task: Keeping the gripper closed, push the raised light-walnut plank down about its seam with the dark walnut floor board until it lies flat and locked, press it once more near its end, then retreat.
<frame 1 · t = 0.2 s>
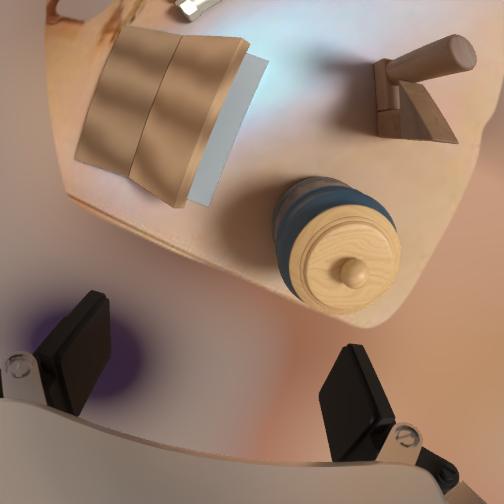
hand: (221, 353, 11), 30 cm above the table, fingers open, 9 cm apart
underlay mat: (163, 107, 35), on the table
floor board: (156, 105, 34), resting on underlay mat
plank: (181, 112, 31), point 4 cm above the table, hinge at 35.0°
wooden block: (386, 100, 34), on the table
canister: (317, 222, 40), on the table
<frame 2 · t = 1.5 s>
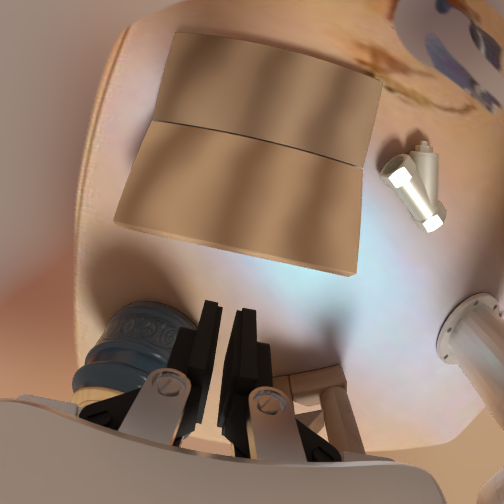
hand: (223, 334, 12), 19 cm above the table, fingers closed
floor board: (258, 138, 27), resting on underlay mat
plank: (246, 192, 25), point 4 cm above the table, hinge at 35.0°
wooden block: (302, 379, 38), on the table
canister: (157, 341, 36), on the table
pipe fitting: (414, 180, 29), on the table
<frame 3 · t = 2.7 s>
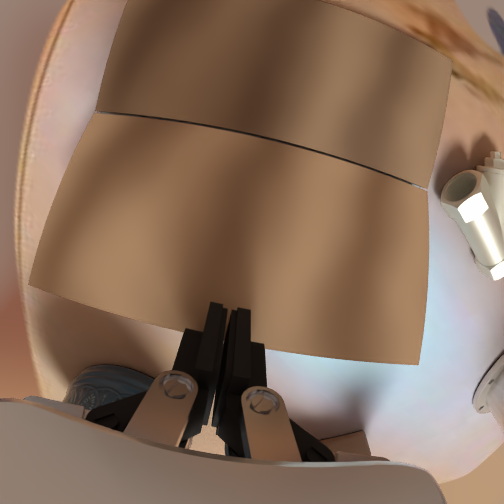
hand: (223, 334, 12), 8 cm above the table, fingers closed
underlay mat: (261, 153, 17), on the table
floor board: (265, 137, 17), resting on underlay mat
plank: (246, 234, 14), point 4 cm above the table, hinge at 35.0°, touching gripper
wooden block: (316, 446, 27), on the table
canister: (132, 406, 25), on the table
pipe fitting: (478, 205, 18), on the table
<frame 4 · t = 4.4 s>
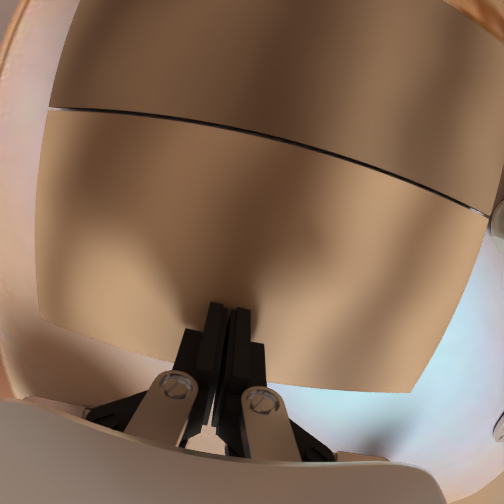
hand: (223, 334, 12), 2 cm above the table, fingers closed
underlay mat: (278, 163, 12), on the table
floor board: (284, 140, 12), resting on underlay mat
plank: (254, 269, 12), point 1 cm above the table, hinge at 3.0°, touching gripper
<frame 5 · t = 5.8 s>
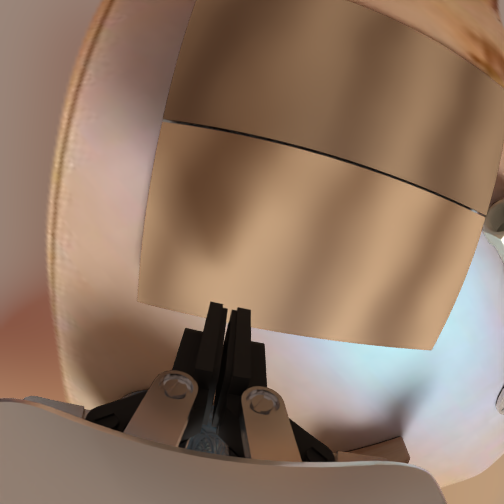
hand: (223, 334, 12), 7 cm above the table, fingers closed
underlay mat: (342, 177, 16), on the table
floor board: (347, 160, 16), resting on underlay mat
plank: (328, 253, 16), point 1 cm above the table, hinge at 2.7°
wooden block: (355, 453, 27), on the table
canister: (177, 428, 25), on the table
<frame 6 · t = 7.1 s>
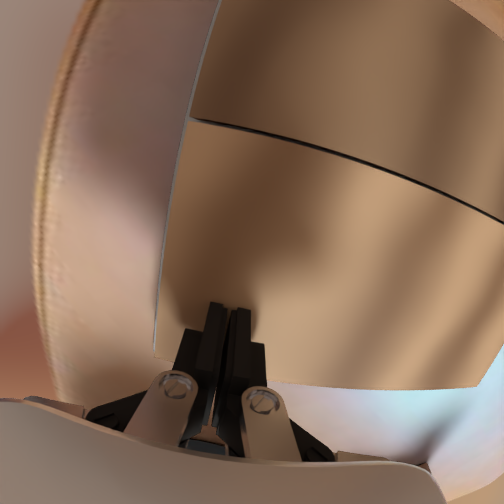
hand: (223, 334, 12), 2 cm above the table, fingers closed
underlay mat: (413, 203, 12), on the table
floor board: (419, 183, 12), resting on underlay mat
plank: (394, 297, 12), point 1 cm above the table, hinge at 1.5°, touching gripper
canister: (193, 469, 21), on the table
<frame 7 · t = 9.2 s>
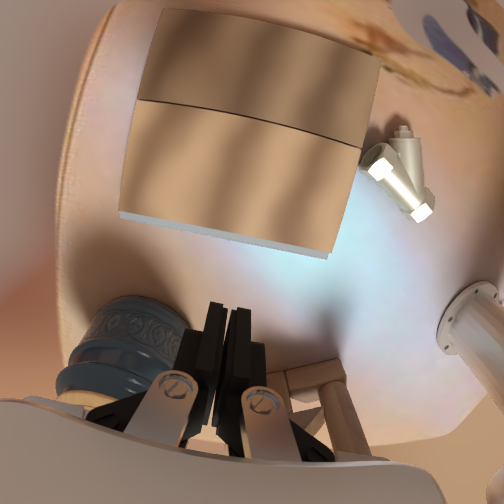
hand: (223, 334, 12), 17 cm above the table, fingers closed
underlay mat: (248, 128, 25), on the table
floor board: (250, 118, 25), resting on underlay mat
plank: (237, 174, 25), point 1 cm above the table, hinge at 1.3°
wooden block: (299, 374, 37), on the table
canister: (144, 338, 33), on the table
pipe fitting: (398, 168, 27), on the table
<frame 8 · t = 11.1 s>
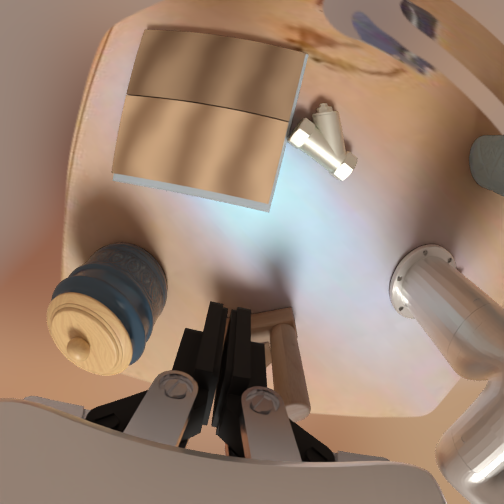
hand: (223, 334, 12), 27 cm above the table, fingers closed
underlay mat: (204, 112, 33), on the table
floor board: (206, 105, 33), resting on underlay mat
plank: (195, 145, 33), point 1 cm above the table, hinge at 1.3°
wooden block: (257, 321, 44), on the table
canister: (128, 281, 42), on the table
grey pot: (484, 160, 34), on the table
pipe fitting: (326, 139, 35), on the table
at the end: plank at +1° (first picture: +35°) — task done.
